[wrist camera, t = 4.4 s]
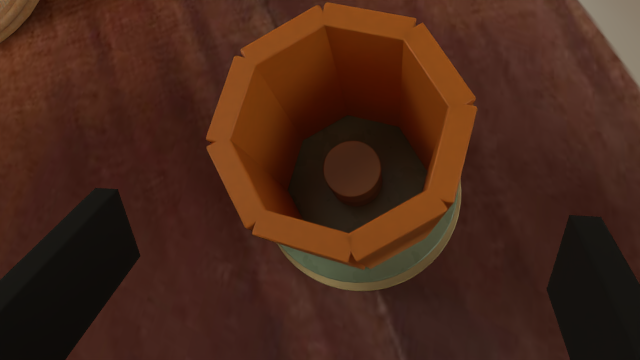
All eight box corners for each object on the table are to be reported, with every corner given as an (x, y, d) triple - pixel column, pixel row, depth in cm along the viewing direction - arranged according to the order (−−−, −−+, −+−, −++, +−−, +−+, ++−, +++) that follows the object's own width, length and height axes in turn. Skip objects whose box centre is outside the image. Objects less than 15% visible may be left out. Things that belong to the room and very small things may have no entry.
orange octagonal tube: (473, 211, 20) (525, 167, 12) (323, 295, 20) (281, 303, 13) (386, 75, 22) (383, -35, 14) (250, 153, 22) (174, 85, 15)
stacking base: (489, 233, 25) (530, 213, 17) (327, 323, 25) (301, 340, 18) (394, 86, 27) (395, 15, 20) (248, 169, 27) (198, 129, 20)
